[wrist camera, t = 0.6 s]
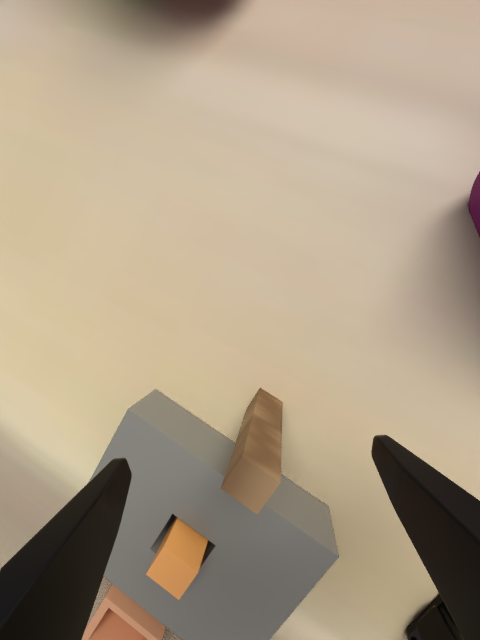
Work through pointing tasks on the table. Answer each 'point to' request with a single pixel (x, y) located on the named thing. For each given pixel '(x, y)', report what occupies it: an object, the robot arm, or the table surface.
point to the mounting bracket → (475, 203)
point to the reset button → (178, 558)
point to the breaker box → (211, 530)
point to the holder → (122, 620)
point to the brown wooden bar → (256, 454)
